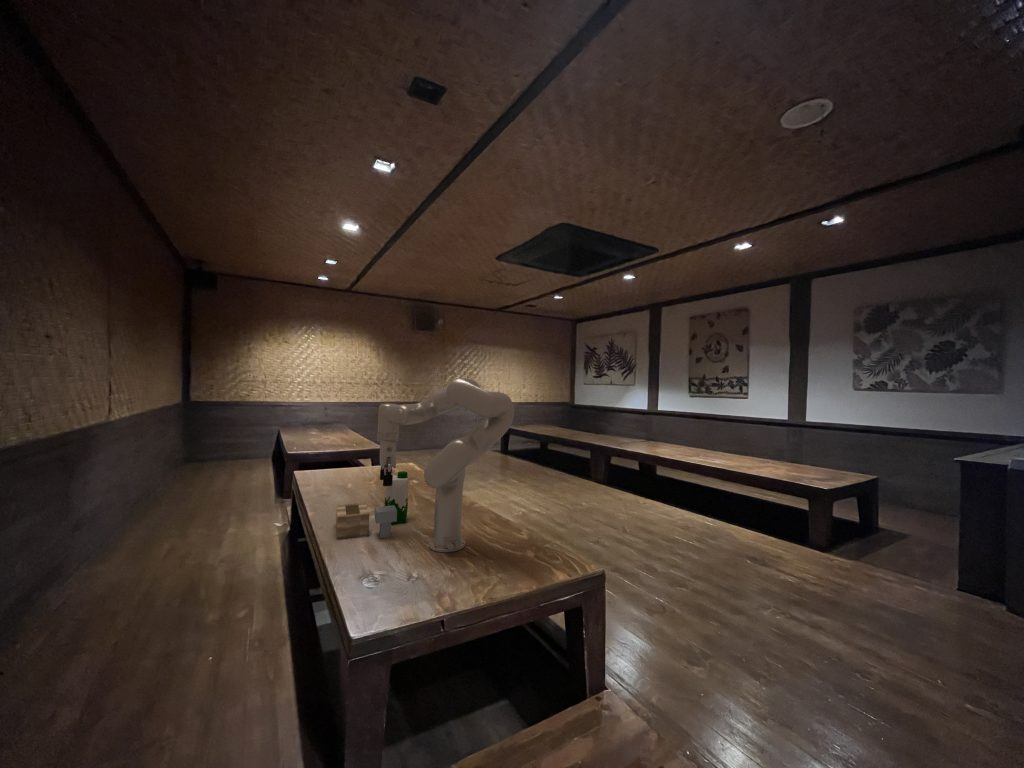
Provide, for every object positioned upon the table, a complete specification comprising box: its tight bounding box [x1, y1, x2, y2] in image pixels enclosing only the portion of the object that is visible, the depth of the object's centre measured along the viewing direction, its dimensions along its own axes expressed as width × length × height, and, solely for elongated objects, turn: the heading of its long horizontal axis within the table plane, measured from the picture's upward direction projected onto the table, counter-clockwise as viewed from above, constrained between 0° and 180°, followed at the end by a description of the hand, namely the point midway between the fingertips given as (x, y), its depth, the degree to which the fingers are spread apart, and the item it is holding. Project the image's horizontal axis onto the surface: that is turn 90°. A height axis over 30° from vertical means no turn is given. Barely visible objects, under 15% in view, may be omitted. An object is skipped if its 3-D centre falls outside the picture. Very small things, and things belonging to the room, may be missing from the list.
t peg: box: [374, 505, 397, 539], centre depth 146 cm, size 7×7×10 cm
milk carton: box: [384, 470, 409, 526], centre depth 163 cm, size 9×9×20 cm
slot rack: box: [335, 502, 370, 541], centre depth 151 cm, size 16×11×8 cm
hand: (385, 482), depth 147 cm, fingers open, 9 cm apart
